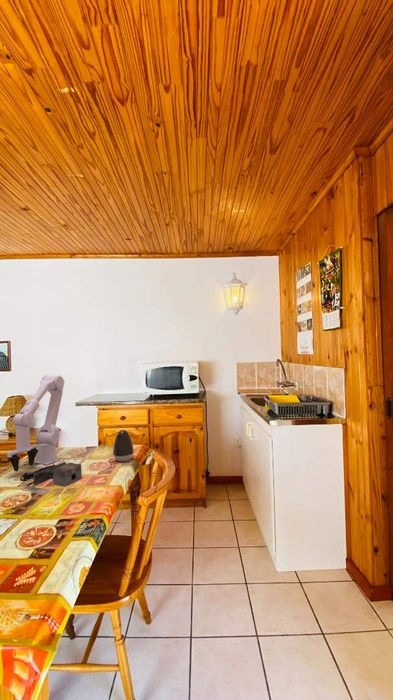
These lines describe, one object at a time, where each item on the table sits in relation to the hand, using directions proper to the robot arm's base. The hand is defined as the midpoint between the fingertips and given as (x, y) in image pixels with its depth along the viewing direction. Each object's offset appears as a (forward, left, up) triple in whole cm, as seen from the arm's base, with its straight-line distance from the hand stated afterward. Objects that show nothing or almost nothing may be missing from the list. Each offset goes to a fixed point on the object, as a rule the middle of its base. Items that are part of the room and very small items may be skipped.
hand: (23, 468), depth 149 cm
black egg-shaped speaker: (+34, +30, -2) cm, 46 cm away
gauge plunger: (+23, -2, -2) cm, 23 cm away
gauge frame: (+24, -4, -2) cm, 24 cm away
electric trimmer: (+9, 0, -3) cm, 10 cm away
